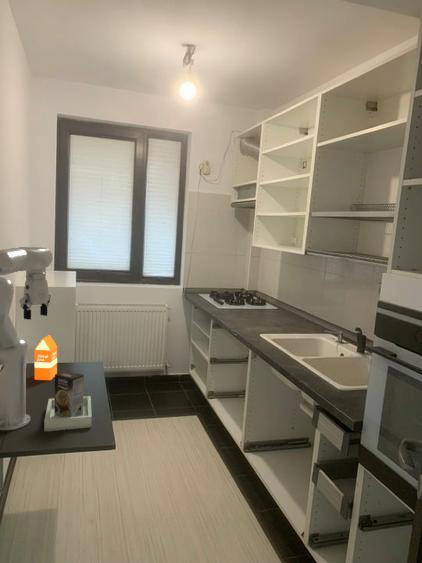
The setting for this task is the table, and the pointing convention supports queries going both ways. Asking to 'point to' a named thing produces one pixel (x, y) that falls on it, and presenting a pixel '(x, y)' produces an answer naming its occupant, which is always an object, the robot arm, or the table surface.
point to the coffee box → (69, 394)
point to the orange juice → (46, 359)
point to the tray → (61, 423)
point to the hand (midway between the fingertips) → (35, 317)
